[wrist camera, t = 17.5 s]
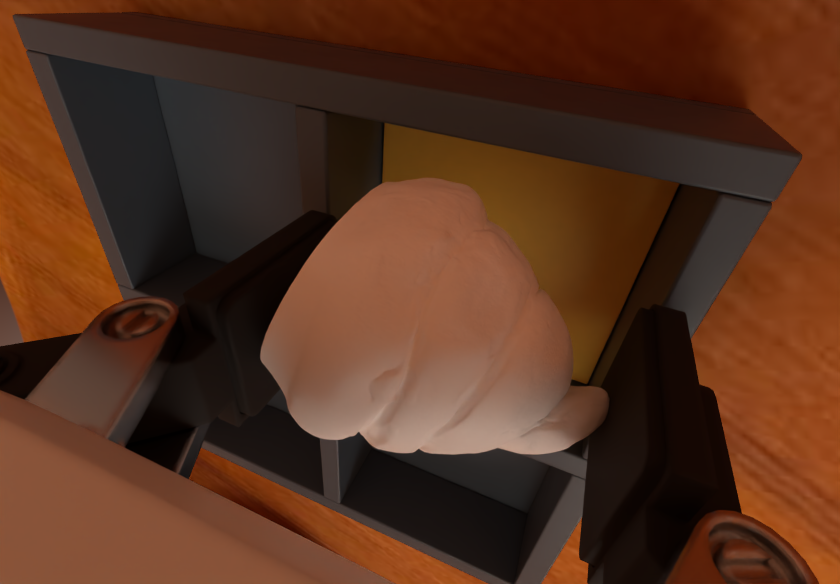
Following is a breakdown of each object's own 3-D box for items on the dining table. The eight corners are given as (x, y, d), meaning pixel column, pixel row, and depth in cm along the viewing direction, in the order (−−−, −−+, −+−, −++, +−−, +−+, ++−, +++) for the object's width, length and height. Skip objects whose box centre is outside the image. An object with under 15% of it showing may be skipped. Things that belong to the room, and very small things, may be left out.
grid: (136, 12, 14) (10, 13, 11) (752, 109, 9) (806, 154, 6) (229, 385, 24) (176, 436, 21) (543, 517, 19) (529, 603, 17)
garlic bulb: (528, 406, 12) (478, 613, 8) (356, 290, 13) (221, 436, 8) (681, 280, 9) (729, 529, 5) (440, 122, 9) (280, 228, 5)
